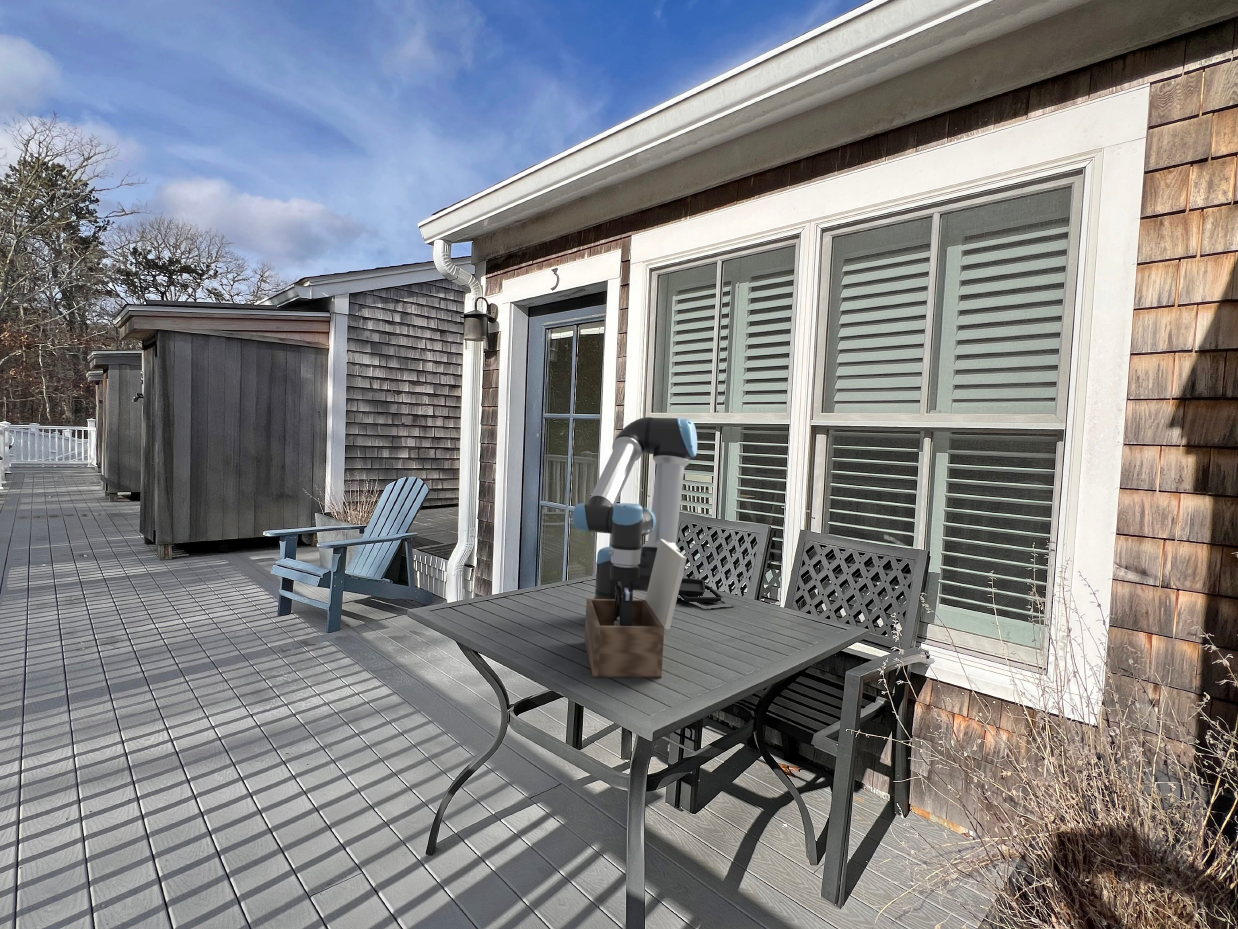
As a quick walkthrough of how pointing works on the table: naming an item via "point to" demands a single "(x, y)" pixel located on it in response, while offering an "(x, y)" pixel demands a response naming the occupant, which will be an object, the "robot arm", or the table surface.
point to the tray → (696, 591)
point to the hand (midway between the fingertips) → (620, 652)
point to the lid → (665, 582)
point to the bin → (623, 641)
